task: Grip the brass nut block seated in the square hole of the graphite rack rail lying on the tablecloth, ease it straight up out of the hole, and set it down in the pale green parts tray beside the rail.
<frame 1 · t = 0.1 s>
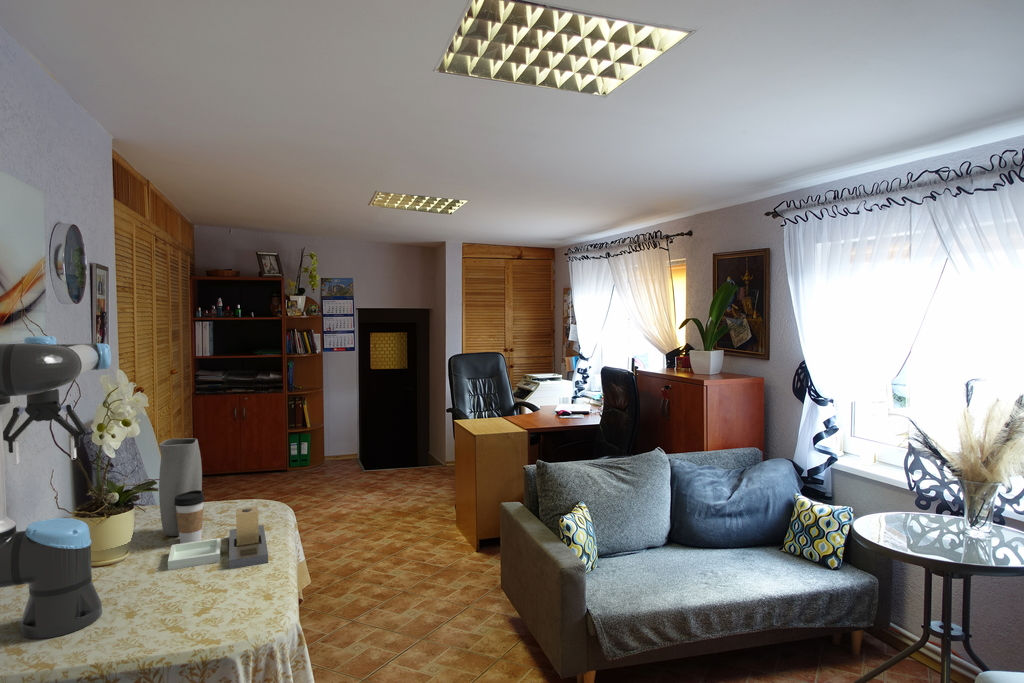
hand: (45, 461, 177), 28 cm above the table, fingers open, 13 cm apart
nut block: (247, 529, 182), in the rack rail
coffee cup: (190, 541, 189), on the table
parts tray: (195, 557, 176), on the table
vase: (181, 533, 196), on the table
rack rail: (247, 549, 182), on the table
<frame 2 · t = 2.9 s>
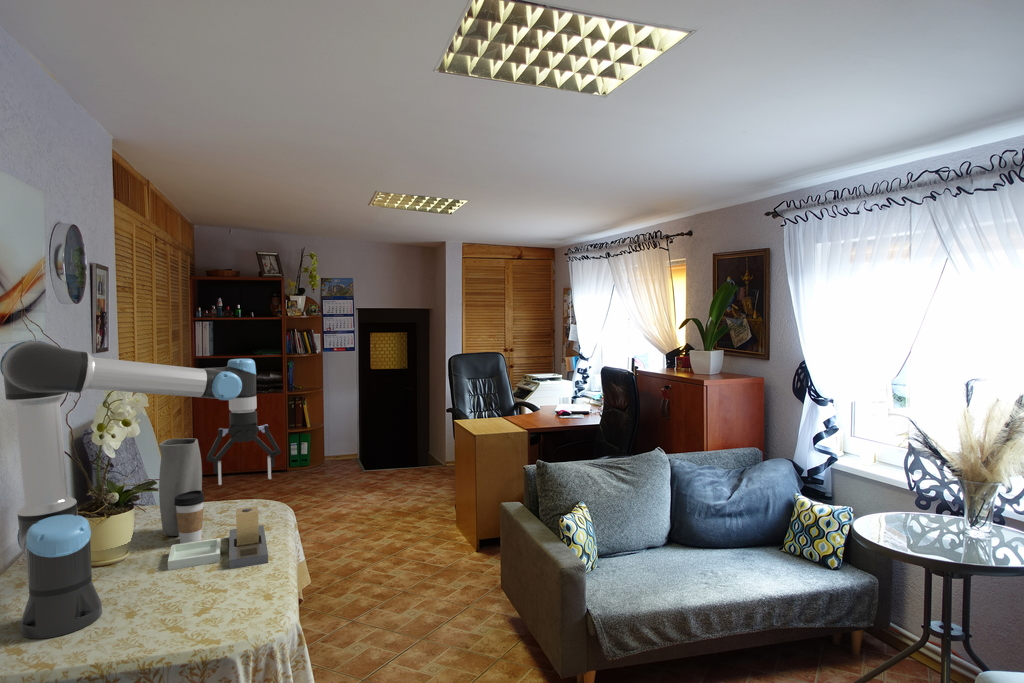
hand: (245, 481, 181), 21 cm above the table, fingers open, 13 cm apart
nothing on the table moved.
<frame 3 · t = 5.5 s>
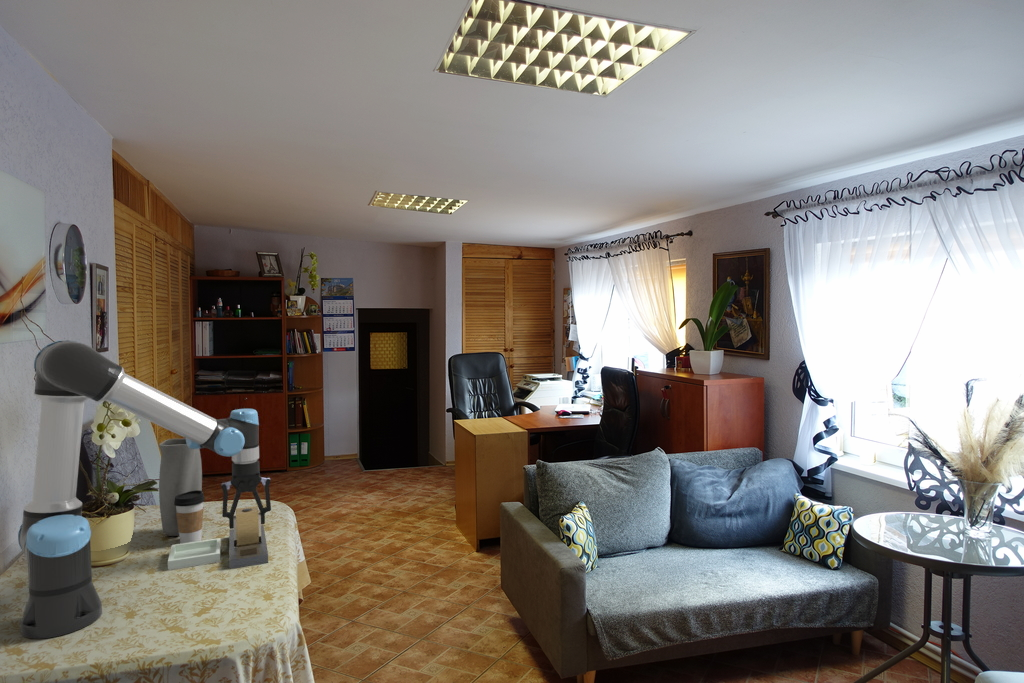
hand: (247, 536, 182), 4 cm above the table, fingers closed on nut block, 6 cm apart
nut block: (247, 529, 182), in the rack rail, touching gripper
everything else where it was.
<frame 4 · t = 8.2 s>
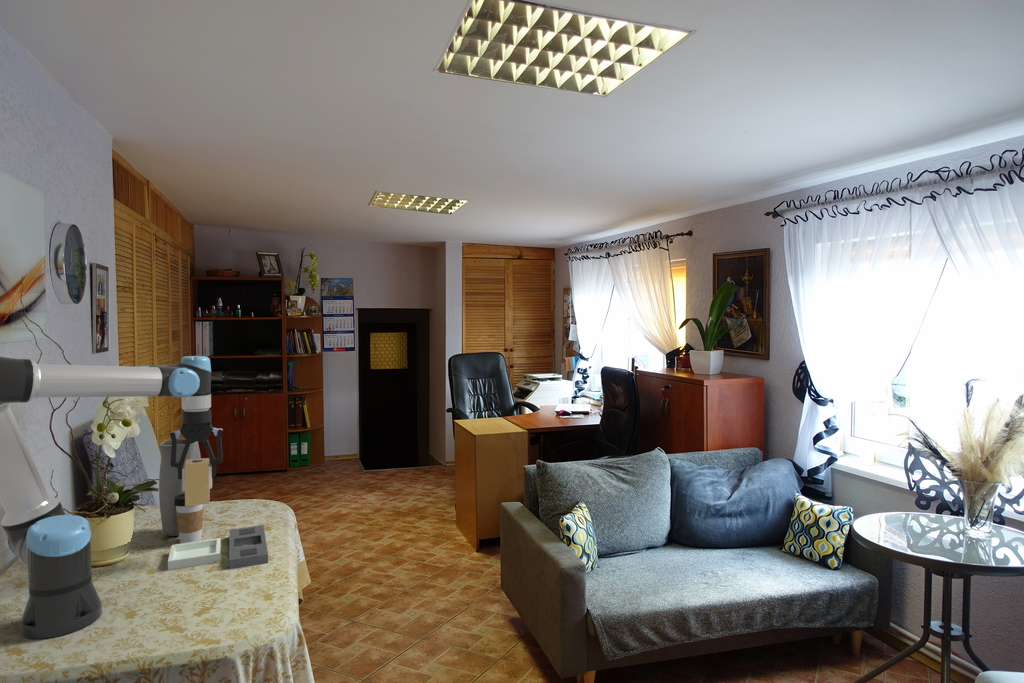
hand: (197, 488, 175), 20 cm above the table, fingers closed on nut block, 6 cm apart
nut block: (197, 481, 175), point 22 cm above the table, touching gripper
everything else where it was.
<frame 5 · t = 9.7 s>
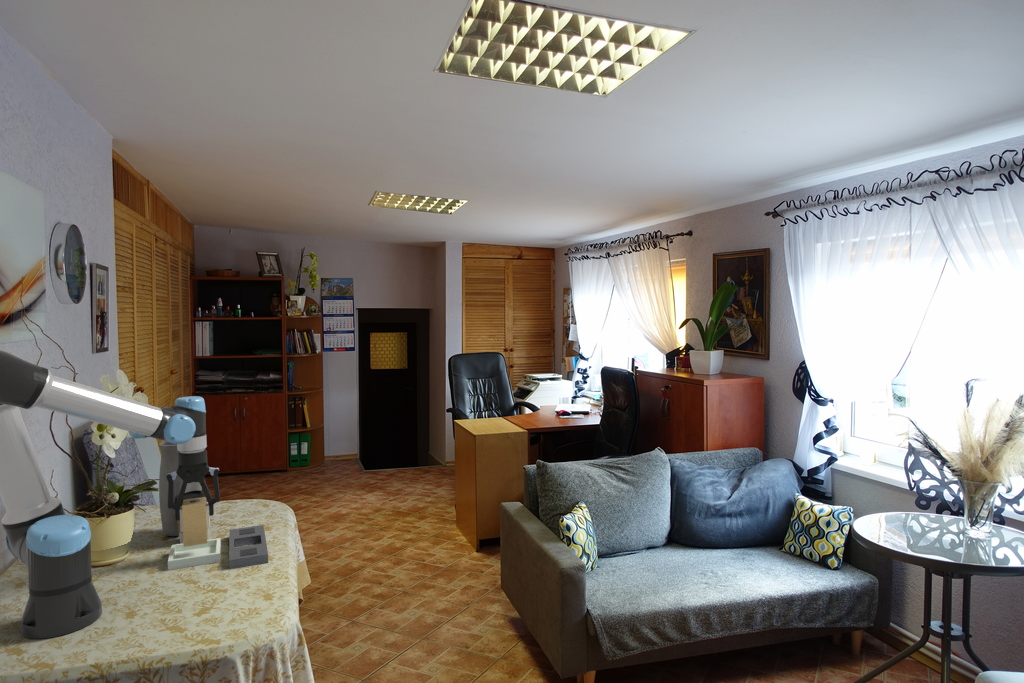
hand: (195, 528, 176), 9 cm above the table, fingers closed on nut block, 6 cm apart
nut block: (195, 521, 176), point 11 cm above the table, touching gripper
everything else where it was.
when the fingers open (6 cm above the table, at t = 10.8 s): nut block drops 1 cm, resting on parts tray.
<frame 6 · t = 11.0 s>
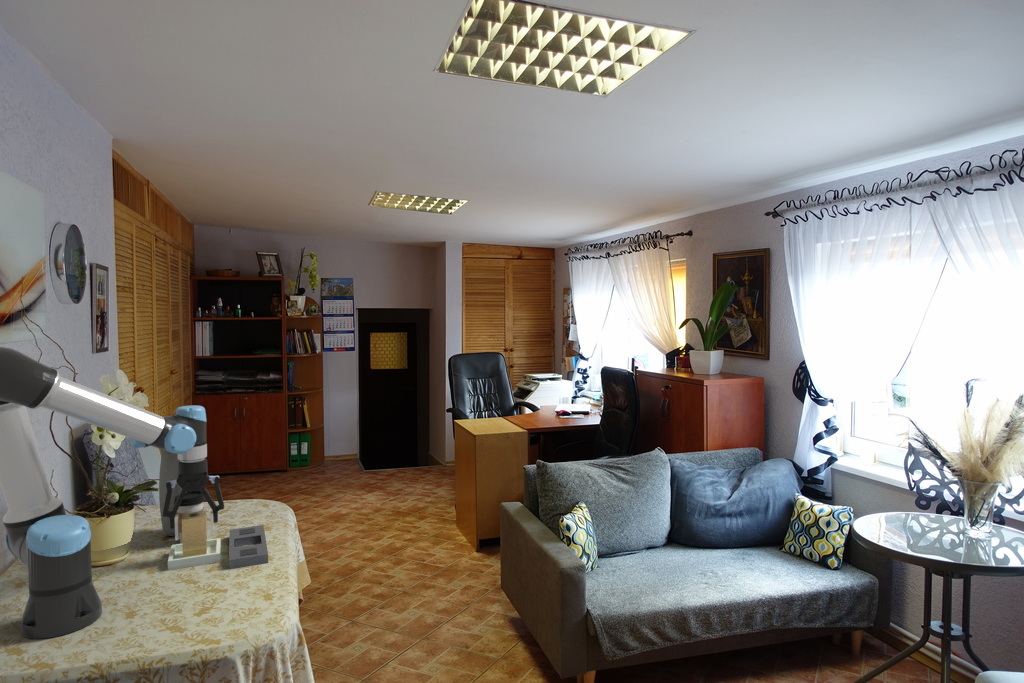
hand: (194, 536, 176), 6 cm above the table, fingers open, 8 cm apart
nut block: (194, 535, 176), in the parts tray, point 7 cm above the table
everything else where it was.
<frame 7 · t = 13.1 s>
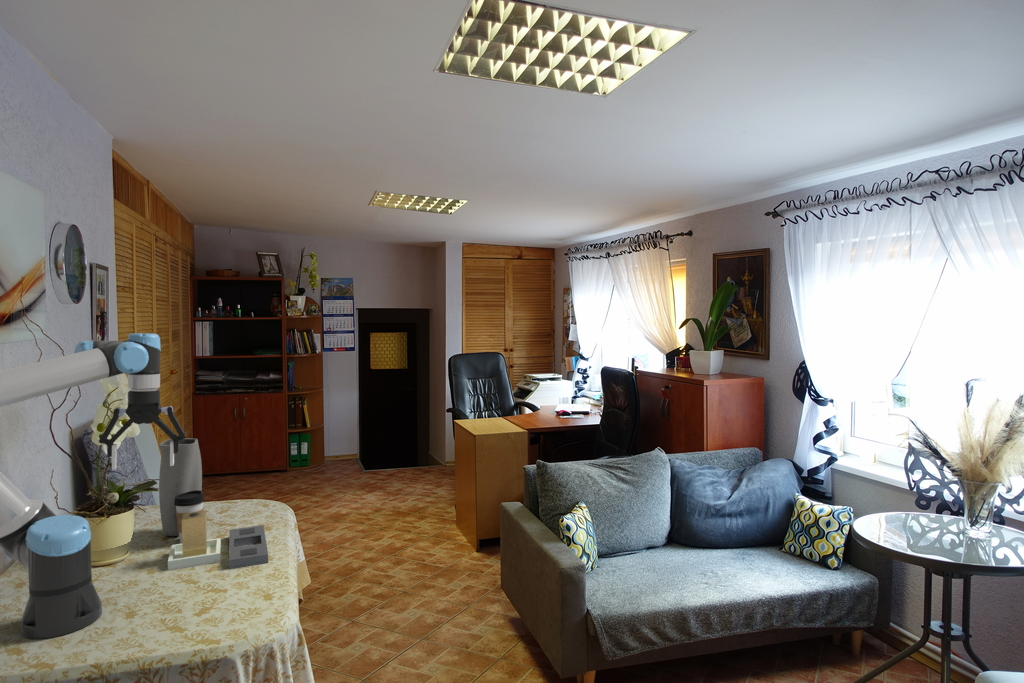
hand: (143, 466, 166), 29 cm above the table, fingers open, 13 cm apart
nothing on the table moved.
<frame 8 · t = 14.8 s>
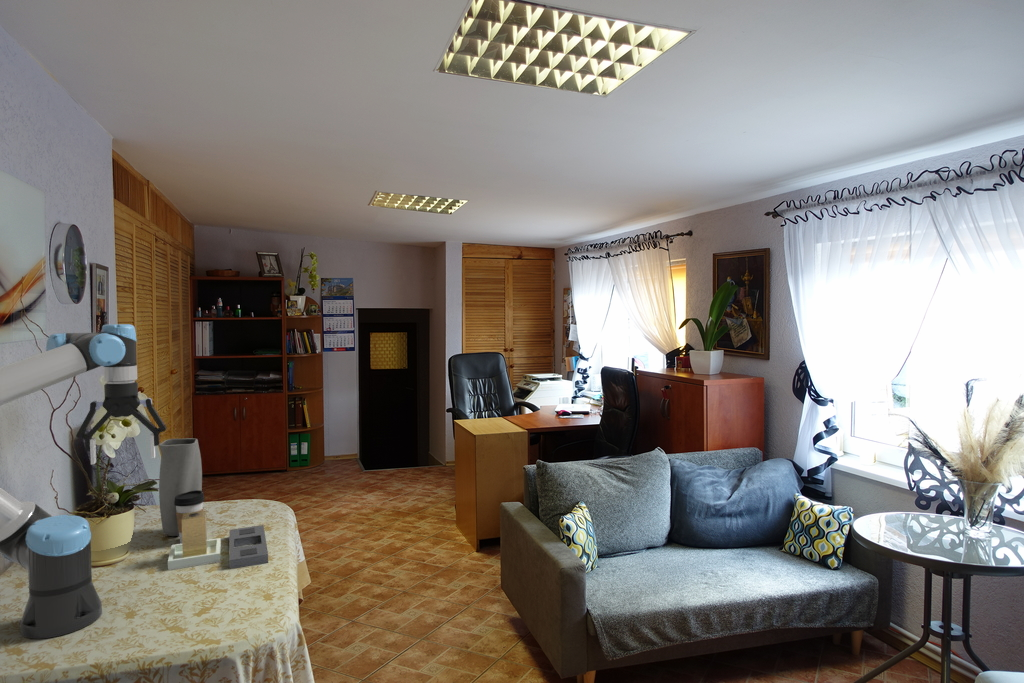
hand: (123, 460, 162), 32 cm above the table, fingers open, 13 cm apart
nothing on the table moved.
at the end: nut block inside the target area on the parts tray (0.1 cm from its centre), point 6.6 cm above the parts tray's base; nut block tilted 0°; the gripper is holding nothing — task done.
